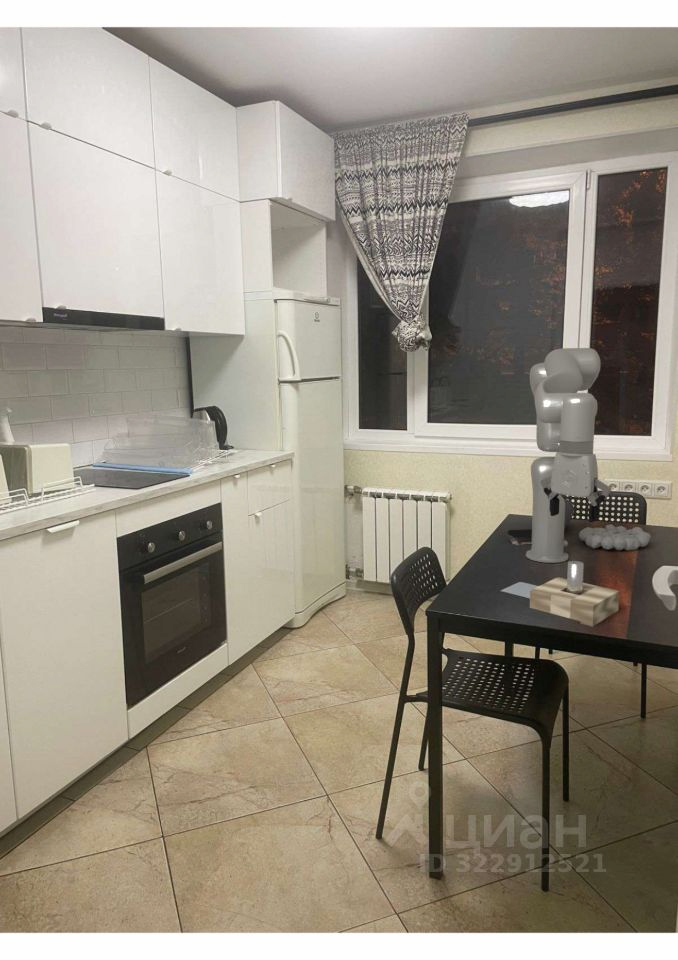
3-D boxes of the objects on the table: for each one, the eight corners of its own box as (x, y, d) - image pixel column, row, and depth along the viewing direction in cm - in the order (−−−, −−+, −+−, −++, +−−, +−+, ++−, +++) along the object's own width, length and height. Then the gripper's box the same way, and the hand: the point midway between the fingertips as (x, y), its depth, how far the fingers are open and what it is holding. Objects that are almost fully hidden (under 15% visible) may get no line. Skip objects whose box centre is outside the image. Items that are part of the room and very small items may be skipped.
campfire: (638, 558, 208) (639, 540, 207) (570, 548, 220) (571, 530, 219) (656, 543, 225) (657, 526, 224) (592, 534, 238) (592, 518, 237)
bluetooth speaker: (567, 537, 233) (568, 509, 231) (539, 535, 237) (540, 507, 235) (575, 523, 253) (576, 497, 251) (549, 521, 257) (550, 495, 255)
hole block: (557, 595, 175) (557, 577, 174) (618, 610, 164) (619, 590, 163) (529, 609, 166) (530, 590, 165) (592, 626, 154) (593, 605, 154)
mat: (520, 583, 185) (520, 581, 185) (553, 591, 178) (553, 589, 178) (500, 592, 178) (500, 590, 178) (534, 601, 171) (534, 599, 171)
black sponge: (551, 538, 233) (552, 528, 232) (560, 545, 225) (561, 534, 224) (505, 540, 232) (505, 529, 232) (512, 546, 224) (512, 535, 223)
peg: (570, 606, 167) (572, 559, 165) (584, 610, 165) (586, 562, 163) (563, 610, 165) (565, 563, 163) (577, 614, 162) (579, 566, 160)
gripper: (535, 446, 163) (532, 515, 166) (605, 452, 151) (601, 526, 154) (550, 443, 168) (547, 510, 171) (619, 449, 156) (615, 520, 159)
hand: (573, 518), depth 163 cm, fingers open, 9 cm apart
